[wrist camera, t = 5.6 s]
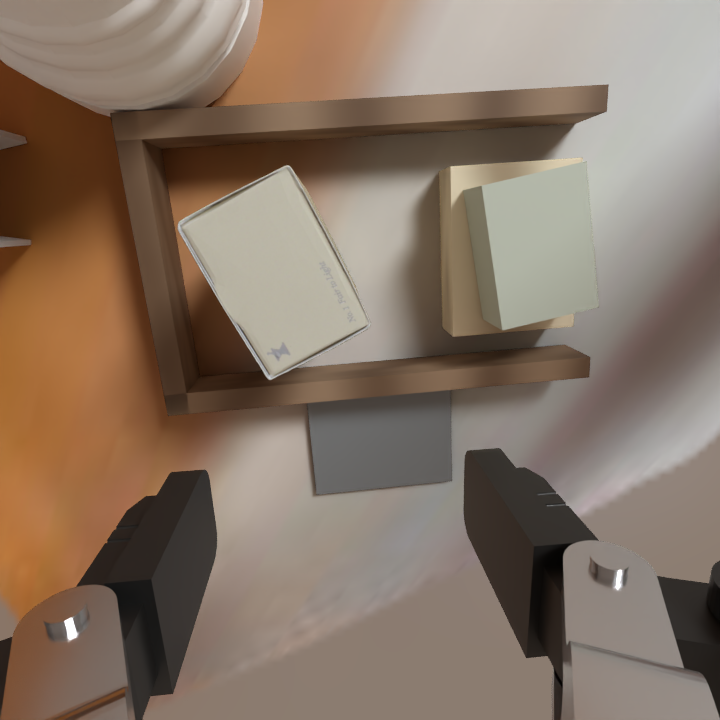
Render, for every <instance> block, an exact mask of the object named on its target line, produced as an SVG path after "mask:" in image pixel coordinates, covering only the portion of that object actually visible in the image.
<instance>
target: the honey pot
mask: <svg viewBox="0 0 720 720" xmlns="http://www.w3.org/2000/svg"><path fill="white" fill-rule="evenodd" d="M262 8H263V0H0V60H2V61H3V62H4V63H5V64H6V65H7V66H9V67H11V68H13V69H14V70H16V71H18V72H20V73H21V74H23V75H25V76H26V77H28V78H30V79H32V80H33V81H35V82H37V83H39V84H40V85H42V86H44V87H46V88H48V89H51V90H52V91H54V92H56V93H58V94H60V95H62V96H64V97H66V98H68V99H70V100H72V101H74V102H76V103H78V104H80V105H82V106H84V107H86V108H88V109H90V110H92V111H94V112H96V113H99V114H102V115H106V116H109V117H111V116H110V113H114V112H132V111H150V110H167V109H185V108H203V107H206V106H207V105H209V104H210V103H212V102H213V101H215V100H216V99H218V98H220V97H221V96H222V95H223V93H224V92H225V91H226V90H227V89H228V88H229V86H230V85H231V84H232V83H233V82H234V80H235V79H236V78H237V77H238V76H239V75H240V73H241V72H242V70H243V68H244V66H245V64H246V62H247V60H248V58H249V55H250V53H251V51H252V49H253V47H254V45H255V42H256V40H257V35H258V29H259V24H260V18H261V13H262Z"/></svg>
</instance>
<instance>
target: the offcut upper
mask: <svg viewBox="0 0 720 720" xmlns="http://www.w3.org/2000/svg"><path fill="white" fill-rule="evenodd" d="M463 193H464V200H465V206H466V213H467V219H468V226H469V232H470V238H471V245H472V251H473V258H474V264H475V271H476V277H477V284H478V290H479V297H480V303H481V310H482V316H483V320H485V321H487V322H489V323H490V324H492V325H494V326H496V327H497V328H499V329H501V330H507V329H511V328H515V327H519V326H523V325H527V324H532V323H536V322H540V321H544V320H548V319H553V318H557V317H561V316H565V315H569V314H573V313H578V312H582V311H586V310H590V309H594V308H598V307H599V304H598V292H597V280H596V268H595V256H594V244H593V233H592V221H591V209H590V197H589V185H588V173H587V161H585V162H580V163H576V164H572V165H568V166H563V167H559V168H555V169H550V170H546V171H542V172H538V173H533V174H529V175H525V176H521V177H516V178H512V179H508V180H504V181H499V182H495V183H491V184H487V185H482V186H478V187H474V188H470V189H466V190H463Z"/></svg>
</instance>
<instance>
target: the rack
mask: <svg viewBox="0 0 720 720" xmlns="http://www.w3.org/2000/svg"><path fill="white" fill-rule="evenodd" d="M607 99H608V85H592V86H574V87H557V88H539V89H521V90H504V91H486V92H468V93H450V94H433V95H415V96H397V97H380V98H362V99H344V100H327V101H309V102H291V103H274V104H256V105H238V106H220V107H203V108H185V109H167V110H150V111H132V112H114V113H110V116H111V121H112V126H113V132H114V137H115V142H116V147H117V153H118V158H119V163H120V168H121V173H122V179H123V184H124V189H125V194H126V199H127V205H128V210H129V215H130V220H131V226H132V231H133V236H134V241H135V246H136V252H137V257H138V262H139V267H140V272H141V278H142V283H143V288H144V293H145V298H146V304H147V309H148V314H149V319H150V325H151V330H152V335H153V340H154V345H155V351H156V356H157V361H158V366H159V371H160V377H161V382H162V387H163V392H164V397H165V403H166V408H167V413H168V416H172V415H182V414H193V413H204V412H215V411H226V410H237V409H248V408H259V407H270V406H281V405H291V404H302V403H313V402H324V401H335V400H346V399H357V398H368V397H379V396H390V395H400V394H411V393H422V392H433V391H444V390H455V389H466V388H477V387H488V386H499V385H510V384H520V383H531V382H542V381H553V380H564V379H575V378H586V377H589V370H590V357H589V356H587V355H585V354H583V353H581V352H579V351H577V350H574V349H572V348H570V347H568V346H566V345H556V346H545V347H533V348H522V349H511V350H499V351H488V352H476V353H465V354H453V355H442V356H431V357H419V358H408V359H396V360H385V361H374V362H362V363H351V364H339V365H328V366H316V367H305V368H294V369H292V370H290V371H288V372H286V373H284V374H282V375H279V376H277V377H276V378H274V379H272V380H268V379H267V377H266V376H265V374H264V372H263V371H259V372H248V373H236V374H225V375H214V376H202V377H200V376H199V370H198V364H197V358H196V352H195V346H194V340H193V334H192V328H191V322H190V316H189V310H188V304H187V298H186V292H185V287H184V281H183V275H182V269H181V263H180V257H179V251H178V245H177V239H176V233H175V227H174V221H173V215H172V209H171V203H170V197H169V191H168V186H167V180H166V174H165V168H164V162H163V156H162V150H161V149H164V148H180V147H197V146H213V145H230V144H246V143H262V142H279V141H295V140H312V139H328V138H344V137H361V136H377V135H394V134H410V133H426V132H443V131H459V130H476V129H492V128H508V127H525V126H541V125H558V124H574V123H578V122H581V121H583V120H586V119H589V118H591V117H594V116H596V115H599V114H601V113H604V112H606V111H607Z"/></svg>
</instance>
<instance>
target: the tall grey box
mask: <svg viewBox="0 0 720 720" xmlns="http://www.w3.org/2000/svg"><path fill="white" fill-rule="evenodd" d="M26 143H27V141H26V138H25V137H24V136H21V135H17V134H14V133H10V132H7V131H4V130H0V150H1V149H5V148H9V147H13V146H17V145H22V144H26ZM25 245H31V240H29V239H21V238H12V237H4V236H0V247H11V246H25Z"/></svg>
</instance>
